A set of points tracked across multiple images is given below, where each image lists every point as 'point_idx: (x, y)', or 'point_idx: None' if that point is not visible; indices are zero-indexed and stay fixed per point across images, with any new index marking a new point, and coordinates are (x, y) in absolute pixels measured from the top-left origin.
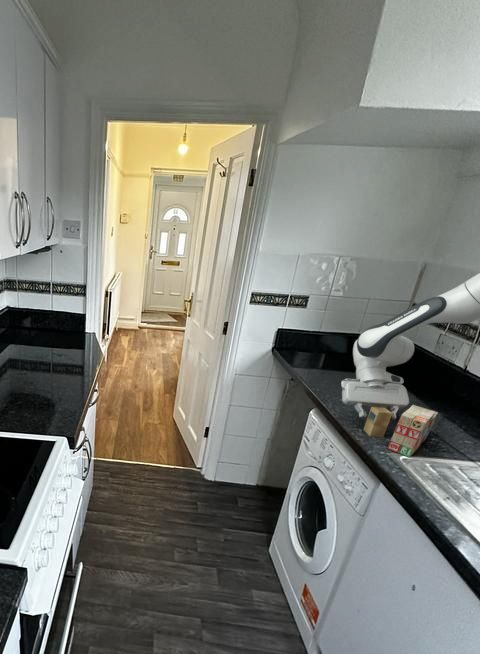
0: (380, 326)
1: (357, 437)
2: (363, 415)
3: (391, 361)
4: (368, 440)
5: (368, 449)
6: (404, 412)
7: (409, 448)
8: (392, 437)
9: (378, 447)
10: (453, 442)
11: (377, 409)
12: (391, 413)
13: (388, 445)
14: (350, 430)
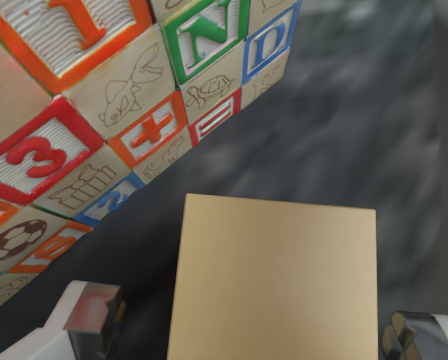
0: None
1: (421, 175)
2: (433, 314)
3: None
4: (365, 141)
5: (422, 35)
6: None
7: None
8: (292, 26)
9: (347, 62)
10: None
11: (336, 310)
12: (196, 195)
13: (283, 69)
14: (425, 281)
